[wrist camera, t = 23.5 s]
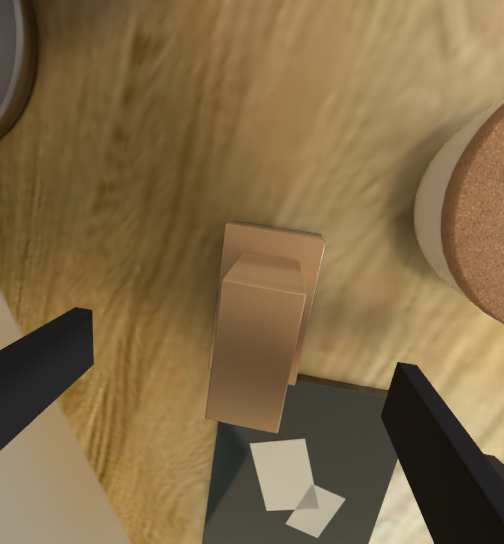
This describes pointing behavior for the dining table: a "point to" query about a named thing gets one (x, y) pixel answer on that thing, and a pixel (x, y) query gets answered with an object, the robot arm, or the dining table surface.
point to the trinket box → (467, 211)
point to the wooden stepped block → (260, 321)
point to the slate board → (303, 470)
